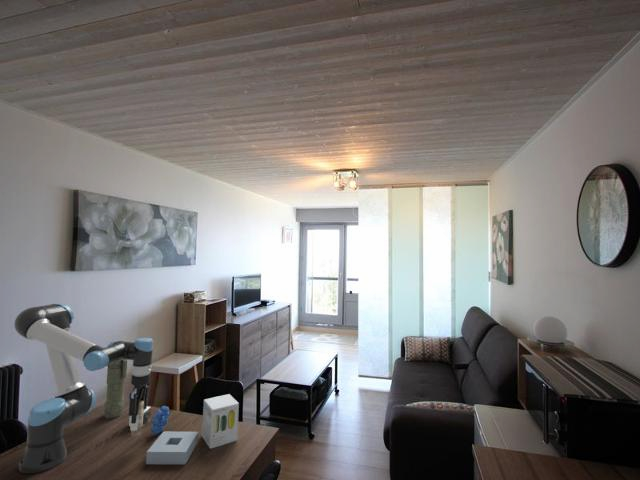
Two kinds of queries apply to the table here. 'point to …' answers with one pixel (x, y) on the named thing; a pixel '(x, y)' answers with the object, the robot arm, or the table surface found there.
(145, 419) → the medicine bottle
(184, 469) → the table surface
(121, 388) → the thermos
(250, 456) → the table surface
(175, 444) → the socket block
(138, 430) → the peg
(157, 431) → the grapes
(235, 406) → the supplement box
